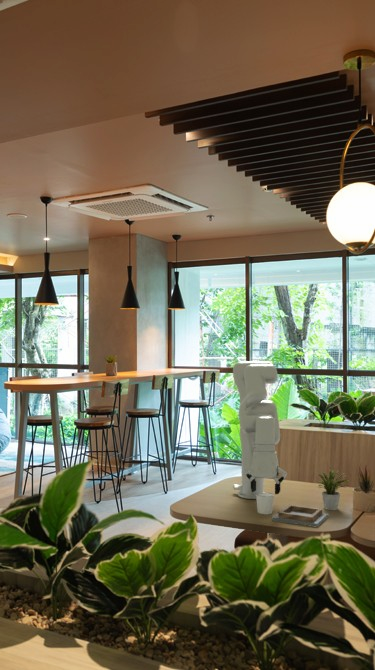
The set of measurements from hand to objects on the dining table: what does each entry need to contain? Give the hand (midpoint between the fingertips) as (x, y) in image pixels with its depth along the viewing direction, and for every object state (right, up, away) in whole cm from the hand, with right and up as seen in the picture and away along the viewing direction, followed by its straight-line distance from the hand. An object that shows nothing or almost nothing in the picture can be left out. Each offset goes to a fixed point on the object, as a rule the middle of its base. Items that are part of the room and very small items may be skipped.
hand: (265, 492), depth 235 cm
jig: (+12, -8, -8) cm, 17 cm away
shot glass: (0, -8, +1) cm, 8 cm away
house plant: (+26, -8, +6) cm, 28 cm away
